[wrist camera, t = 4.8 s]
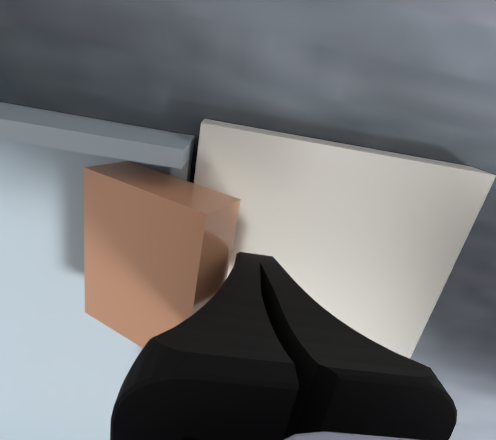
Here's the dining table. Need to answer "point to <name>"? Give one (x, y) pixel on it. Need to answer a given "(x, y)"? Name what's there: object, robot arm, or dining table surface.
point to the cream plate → (347, 221)
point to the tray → (61, 270)
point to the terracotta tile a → (152, 247)
